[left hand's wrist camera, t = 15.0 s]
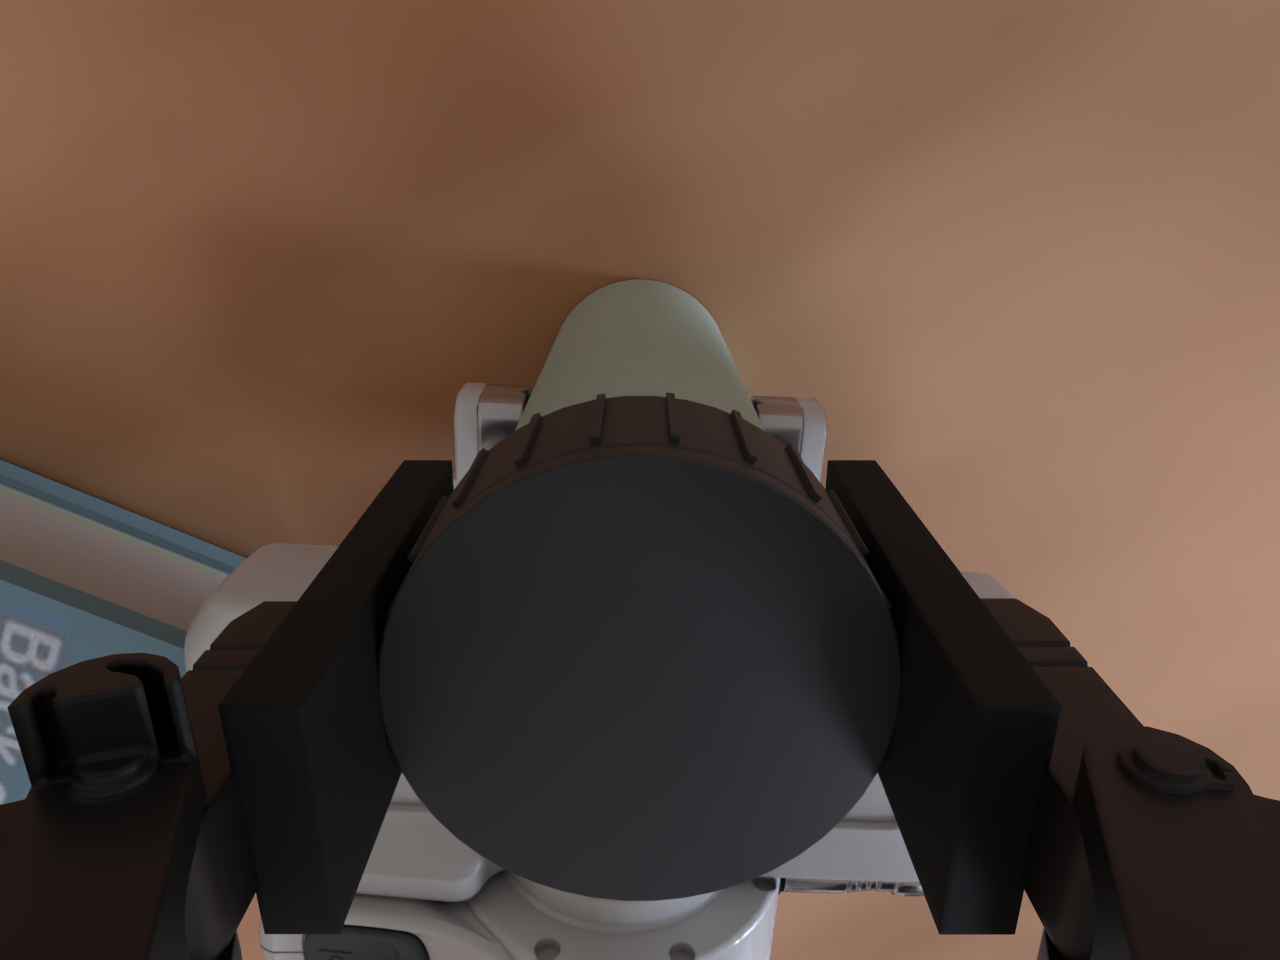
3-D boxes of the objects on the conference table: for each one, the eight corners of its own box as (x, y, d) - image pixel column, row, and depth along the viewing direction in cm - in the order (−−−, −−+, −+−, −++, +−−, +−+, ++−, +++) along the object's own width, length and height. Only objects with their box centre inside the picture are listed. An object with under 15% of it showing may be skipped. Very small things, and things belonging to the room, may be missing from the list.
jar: (519, 333, 25) (339, 606, 10) (675, 245, 24) (736, 400, 9) (606, 478, 27) (564, 901, 12) (756, 401, 26) (920, 750, 11)
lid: (328, 547, 12) (256, 640, 10) (710, 294, 11) (730, 333, 8) (585, 839, 14) (574, 974, 11) (935, 652, 13) (1001, 762, 10)
